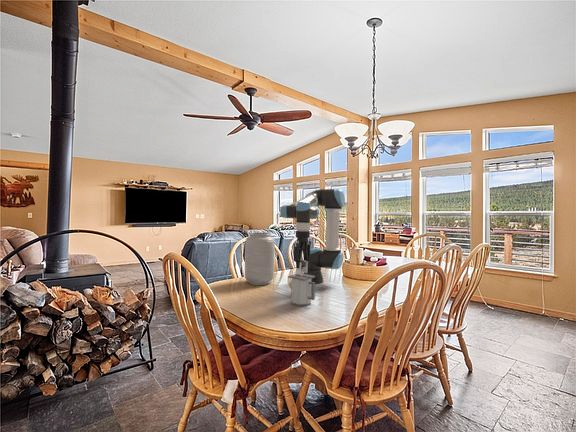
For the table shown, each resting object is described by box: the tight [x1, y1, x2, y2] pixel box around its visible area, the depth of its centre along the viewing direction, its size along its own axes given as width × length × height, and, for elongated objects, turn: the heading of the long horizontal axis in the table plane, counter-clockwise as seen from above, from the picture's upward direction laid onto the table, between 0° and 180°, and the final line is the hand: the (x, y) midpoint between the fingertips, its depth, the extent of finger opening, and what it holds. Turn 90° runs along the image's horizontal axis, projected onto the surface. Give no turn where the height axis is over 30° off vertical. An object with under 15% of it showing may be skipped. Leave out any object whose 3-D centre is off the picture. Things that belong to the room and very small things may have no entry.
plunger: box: [300, 259, 306, 277], centre depth 163 cm, size 7×7×17 cm
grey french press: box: [287, 273, 316, 307], centre depth 162 cm, size 11×14×15 cm
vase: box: [244, 232, 276, 286], centre depth 205 cm, size 20×20×34 cm
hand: (301, 273), depth 163 cm, fingers open, 5 cm apart
